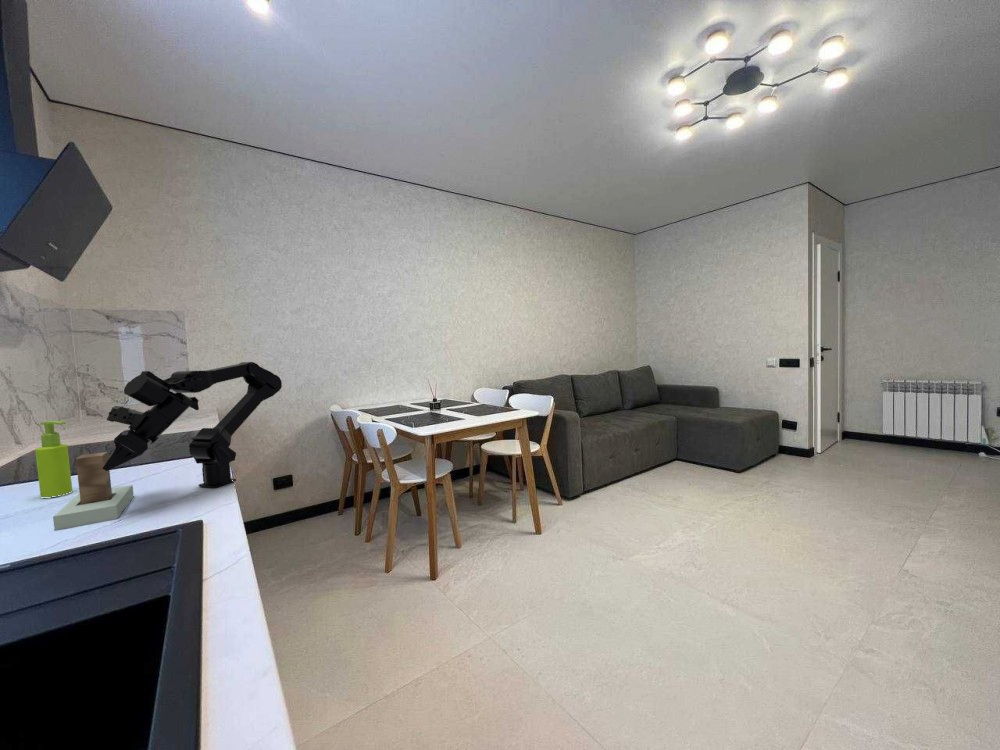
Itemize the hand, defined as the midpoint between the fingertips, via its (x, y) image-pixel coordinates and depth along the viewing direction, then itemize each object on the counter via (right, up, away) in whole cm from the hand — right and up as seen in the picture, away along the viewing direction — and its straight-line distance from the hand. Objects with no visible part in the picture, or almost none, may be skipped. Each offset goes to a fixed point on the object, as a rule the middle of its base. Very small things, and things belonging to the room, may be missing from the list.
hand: (109, 465), depth 100 cm
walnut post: (-2, -10, -1) cm, 10 cm away
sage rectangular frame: (-2, -11, -1) cm, 11 cm away
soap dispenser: (-26, -11, +13) cm, 31 cm away
